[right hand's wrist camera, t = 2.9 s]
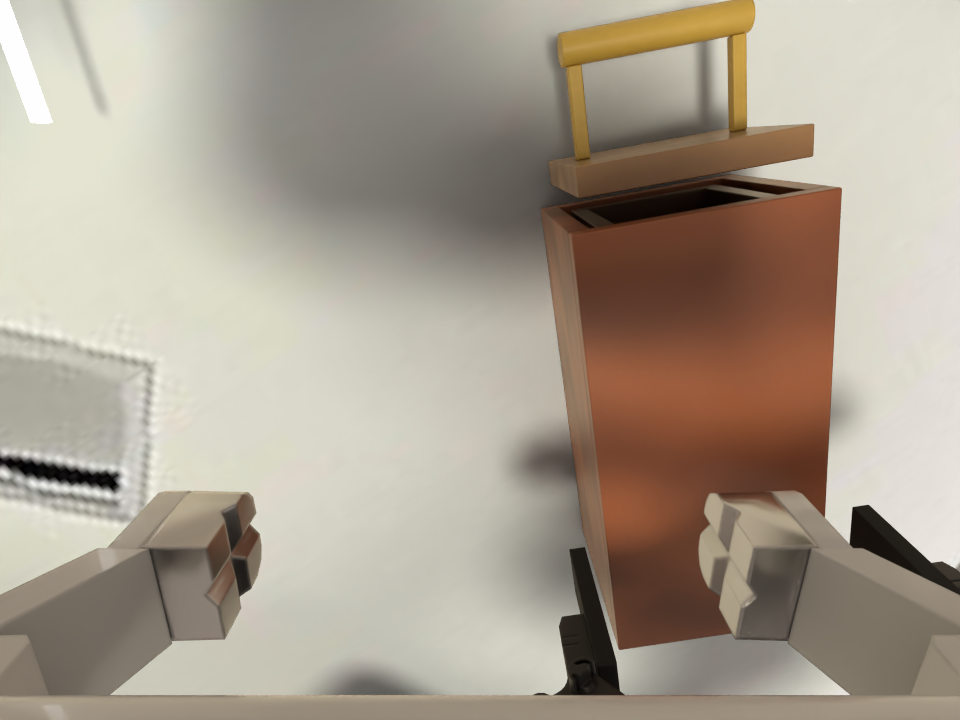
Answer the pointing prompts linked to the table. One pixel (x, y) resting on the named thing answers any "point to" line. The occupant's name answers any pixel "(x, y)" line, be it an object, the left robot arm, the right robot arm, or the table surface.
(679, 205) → the drawer
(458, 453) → the table surface
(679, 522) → the cabinet
